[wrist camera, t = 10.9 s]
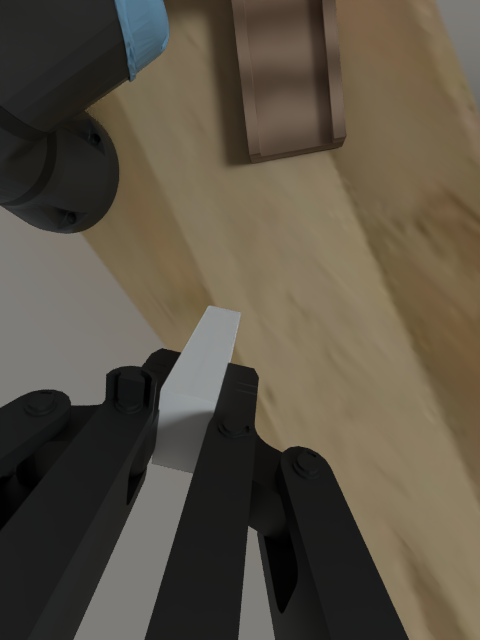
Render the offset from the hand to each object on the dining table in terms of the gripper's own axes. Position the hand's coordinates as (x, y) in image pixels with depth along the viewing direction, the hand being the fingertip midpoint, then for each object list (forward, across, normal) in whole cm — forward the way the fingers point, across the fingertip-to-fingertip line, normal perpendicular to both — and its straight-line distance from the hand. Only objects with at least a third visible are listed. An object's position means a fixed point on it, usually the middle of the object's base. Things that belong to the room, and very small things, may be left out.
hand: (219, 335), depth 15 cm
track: (+31, -2, +22) cm, 38 cm away
